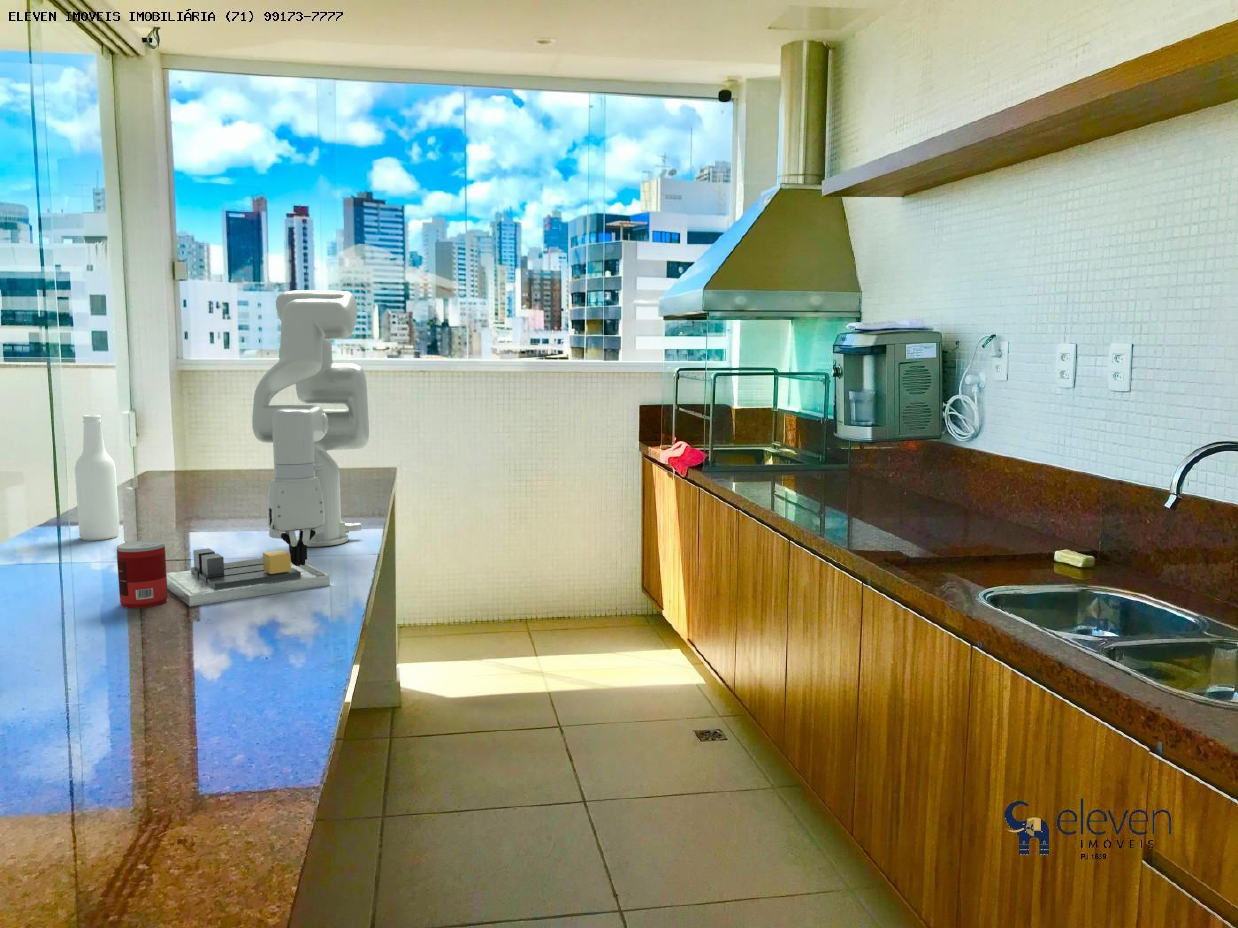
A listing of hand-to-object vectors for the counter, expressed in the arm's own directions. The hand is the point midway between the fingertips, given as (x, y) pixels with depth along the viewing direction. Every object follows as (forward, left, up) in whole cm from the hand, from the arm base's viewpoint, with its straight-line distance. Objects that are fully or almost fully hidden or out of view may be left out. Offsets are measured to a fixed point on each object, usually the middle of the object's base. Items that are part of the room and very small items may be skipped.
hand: (298, 564), depth 193 cm
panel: (+8, -6, -4) cm, 11 cm away
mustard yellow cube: (+4, 0, -1) cm, 4 cm away
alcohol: (+22, -77, -4) cm, 80 cm away
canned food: (+27, -3, -4) cm, 28 cm away
